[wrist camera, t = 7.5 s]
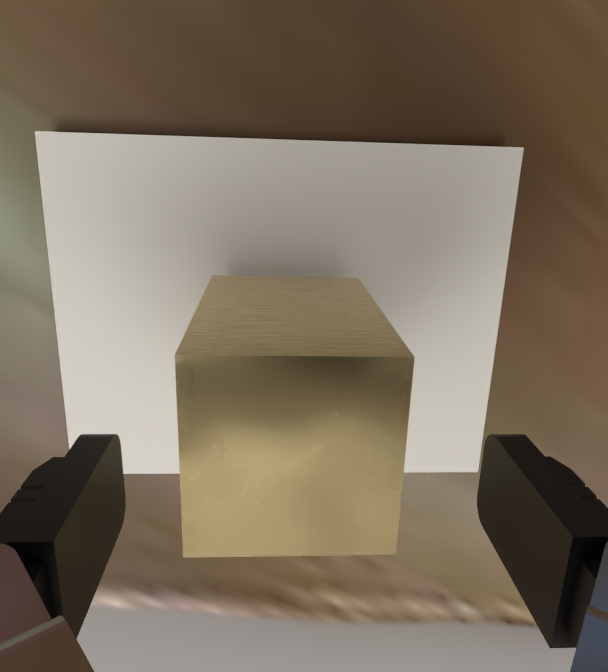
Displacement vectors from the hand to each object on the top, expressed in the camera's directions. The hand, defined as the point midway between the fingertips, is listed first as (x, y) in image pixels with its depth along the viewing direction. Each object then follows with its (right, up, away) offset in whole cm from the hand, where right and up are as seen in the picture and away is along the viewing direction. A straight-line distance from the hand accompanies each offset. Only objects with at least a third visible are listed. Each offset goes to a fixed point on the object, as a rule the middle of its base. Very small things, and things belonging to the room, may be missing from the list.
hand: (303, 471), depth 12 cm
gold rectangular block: (-1, +3, +8) cm, 8 cm away
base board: (-1, +4, +12) cm, 13 cm away
